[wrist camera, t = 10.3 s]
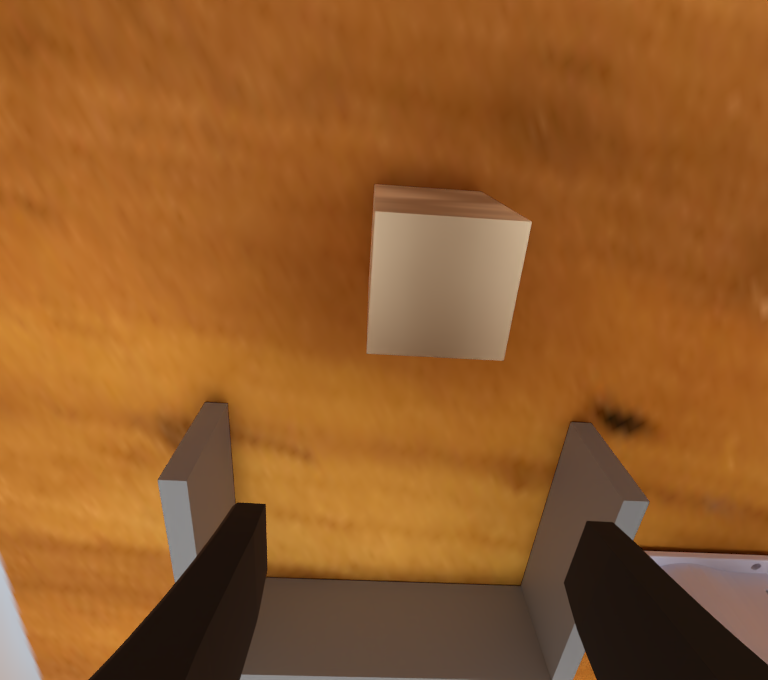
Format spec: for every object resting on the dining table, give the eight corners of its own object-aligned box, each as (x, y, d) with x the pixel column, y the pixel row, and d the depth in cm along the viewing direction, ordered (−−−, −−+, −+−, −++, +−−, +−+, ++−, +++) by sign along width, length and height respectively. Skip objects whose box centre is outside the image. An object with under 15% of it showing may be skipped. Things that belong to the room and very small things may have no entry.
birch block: (481, 191, 17) (532, 221, 12) (465, 292, 19) (503, 360, 13) (374, 184, 17) (375, 210, 11) (368, 286, 18) (366, 353, 13)
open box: (591, 423, 22) (649, 501, 17) (533, 597, 27) (566, 693, 22) (205, 402, 21) (157, 479, 16) (224, 587, 26) (192, 685, 21)
